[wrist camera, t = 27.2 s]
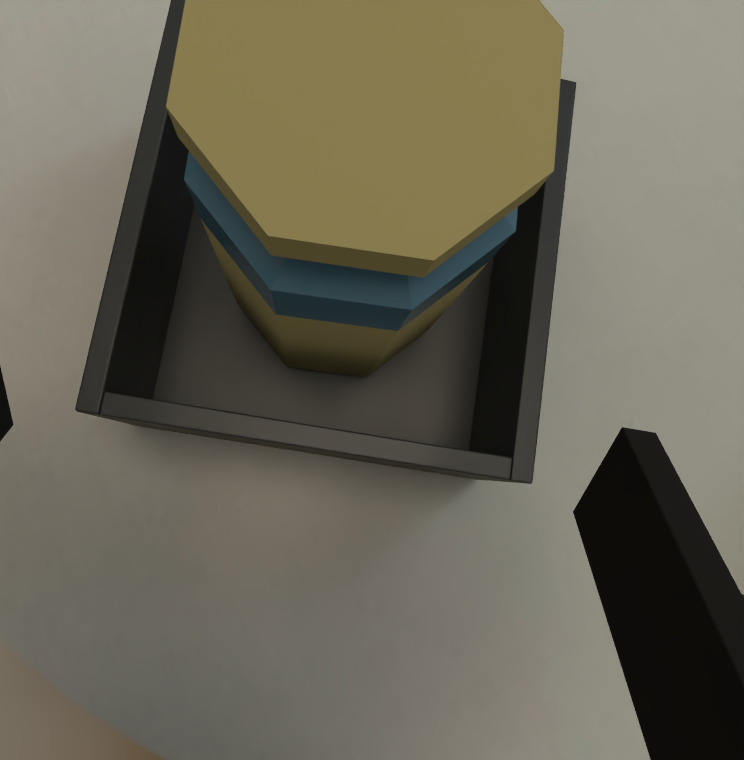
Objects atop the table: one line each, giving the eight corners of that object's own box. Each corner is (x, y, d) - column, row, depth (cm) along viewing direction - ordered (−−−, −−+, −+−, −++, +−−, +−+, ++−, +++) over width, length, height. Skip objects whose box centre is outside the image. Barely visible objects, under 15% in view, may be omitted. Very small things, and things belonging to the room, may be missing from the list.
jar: (213, 212, 27) (101, -93, 12) (405, 170, 28) (511, -151, 14) (264, 406, 26) (210, 328, 11) (461, 353, 27) (641, 221, 13)
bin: (133, 424, 26) (73, 410, 19) (203, 103, 29) (171, -7, 22) (477, 479, 27) (532, 484, 21) (516, 167, 30) (577, 81, 23)
